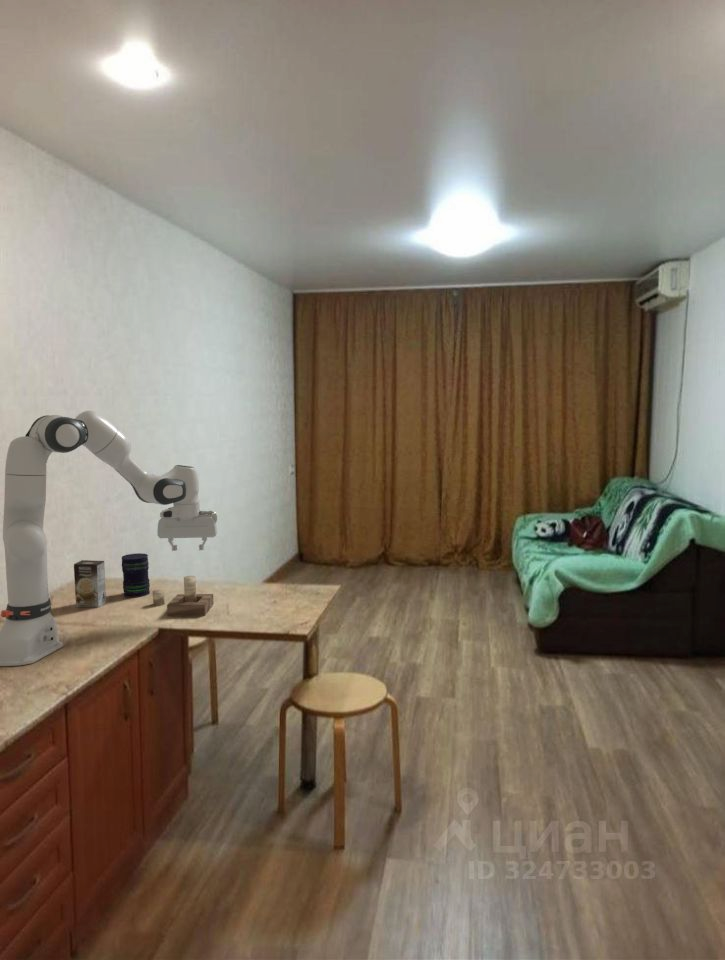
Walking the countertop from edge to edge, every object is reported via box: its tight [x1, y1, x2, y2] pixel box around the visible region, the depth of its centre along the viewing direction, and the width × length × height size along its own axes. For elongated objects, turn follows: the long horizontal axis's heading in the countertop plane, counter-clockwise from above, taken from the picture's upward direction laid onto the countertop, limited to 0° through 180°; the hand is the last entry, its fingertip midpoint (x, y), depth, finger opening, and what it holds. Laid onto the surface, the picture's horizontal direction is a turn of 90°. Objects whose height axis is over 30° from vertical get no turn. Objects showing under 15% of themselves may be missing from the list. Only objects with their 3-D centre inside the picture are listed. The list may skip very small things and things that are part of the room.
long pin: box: [183, 575, 197, 602], centre depth 242 cm, size 4×4×12 cm
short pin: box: [152, 588, 166, 607], centre depth 251 cm, size 4×4×5 cm
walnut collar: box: [166, 593, 215, 617], centre depth 243 cm, size 13×13×4 cm
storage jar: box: [121, 552, 151, 598], centre depth 265 cm, size 10×10×15 cm
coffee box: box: [73, 559, 107, 608], centre depth 251 cm, size 9×6×16 cm
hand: (188, 550), depth 241 cm, fingers open, 8 cm apart
